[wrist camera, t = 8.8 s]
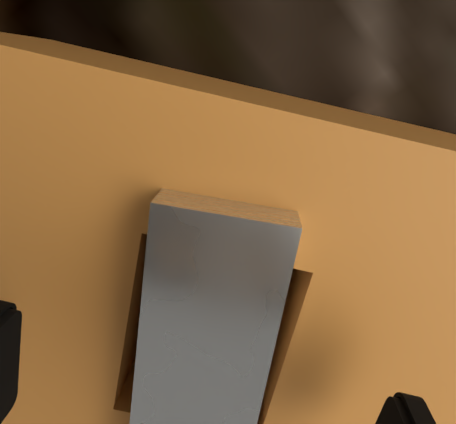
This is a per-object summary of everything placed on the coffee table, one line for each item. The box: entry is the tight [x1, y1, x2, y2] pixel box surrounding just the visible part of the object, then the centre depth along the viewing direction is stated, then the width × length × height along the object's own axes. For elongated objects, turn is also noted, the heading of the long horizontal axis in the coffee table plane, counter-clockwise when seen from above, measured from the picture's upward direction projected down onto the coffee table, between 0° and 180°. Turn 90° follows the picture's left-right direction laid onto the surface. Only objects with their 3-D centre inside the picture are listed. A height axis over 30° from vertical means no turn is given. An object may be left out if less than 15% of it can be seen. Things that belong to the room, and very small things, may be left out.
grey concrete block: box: [129, 188, 302, 424], centre depth 15 cm, size 9×4×9 cm, turn 171°
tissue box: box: [0, 32, 456, 424], centre depth 17 cm, size 14×20×10 cm
